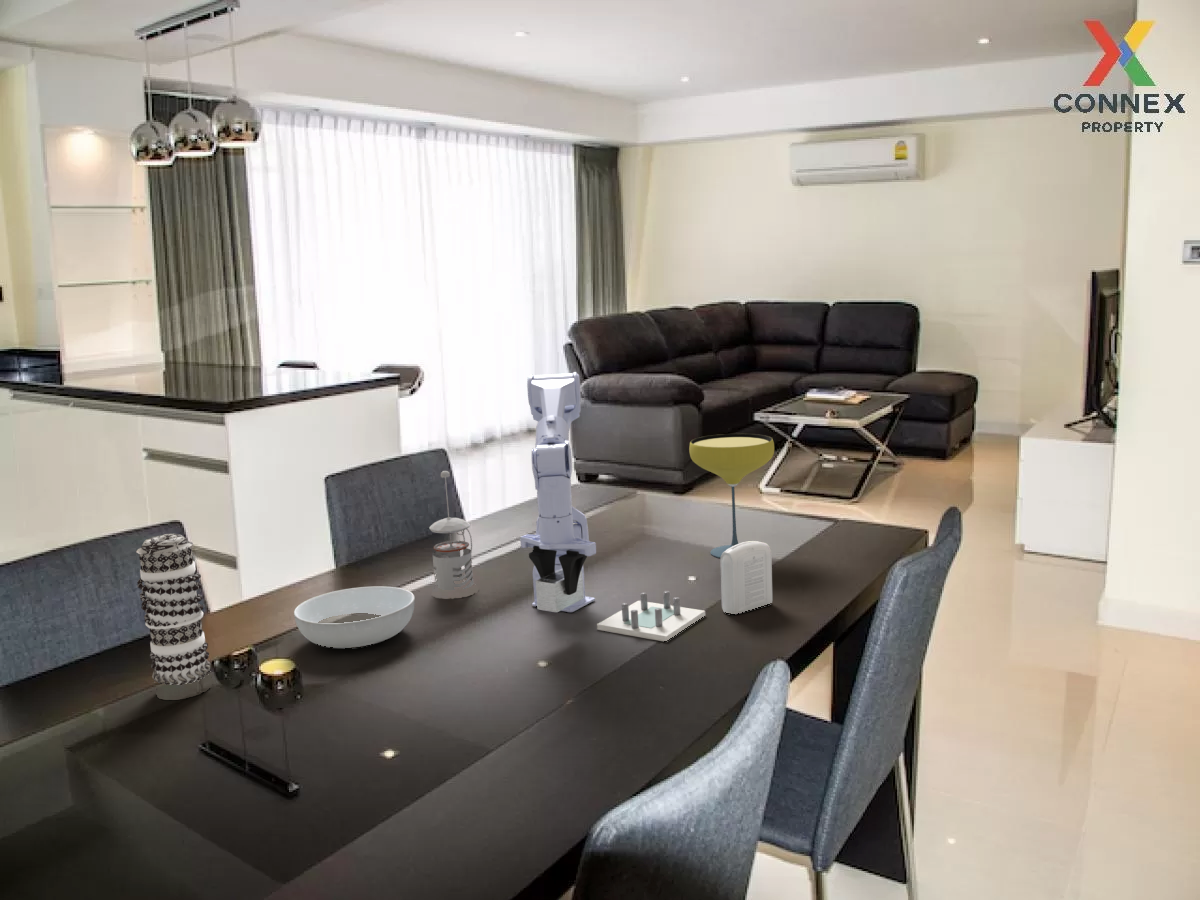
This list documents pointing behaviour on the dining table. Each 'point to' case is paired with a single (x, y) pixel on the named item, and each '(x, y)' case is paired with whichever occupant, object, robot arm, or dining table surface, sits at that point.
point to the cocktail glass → (731, 462)
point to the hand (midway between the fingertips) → (560, 591)
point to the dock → (651, 619)
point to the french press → (452, 552)
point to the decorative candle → (173, 610)
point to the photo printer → (746, 577)
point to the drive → (556, 592)
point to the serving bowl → (371, 600)
